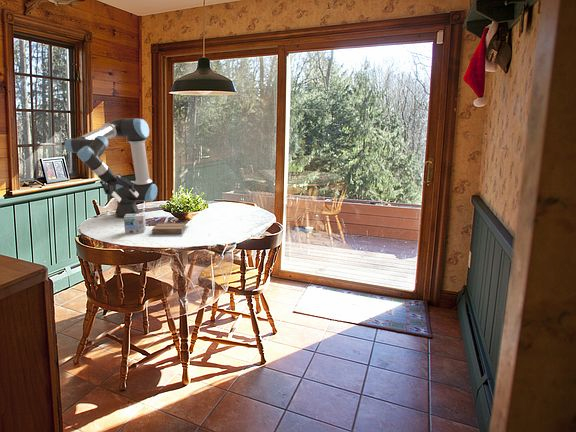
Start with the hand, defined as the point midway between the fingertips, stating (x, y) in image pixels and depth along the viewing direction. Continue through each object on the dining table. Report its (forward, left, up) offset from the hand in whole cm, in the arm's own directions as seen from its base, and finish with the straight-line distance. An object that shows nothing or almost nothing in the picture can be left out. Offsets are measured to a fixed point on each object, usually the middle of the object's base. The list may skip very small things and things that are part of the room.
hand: (128, 198), depth 234 cm
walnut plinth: (+5, +23, -18) cm, 30 cm away
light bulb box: (+5, +4, -20) cm, 21 cm away
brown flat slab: (+5, +23, -19) cm, 30 cm away
